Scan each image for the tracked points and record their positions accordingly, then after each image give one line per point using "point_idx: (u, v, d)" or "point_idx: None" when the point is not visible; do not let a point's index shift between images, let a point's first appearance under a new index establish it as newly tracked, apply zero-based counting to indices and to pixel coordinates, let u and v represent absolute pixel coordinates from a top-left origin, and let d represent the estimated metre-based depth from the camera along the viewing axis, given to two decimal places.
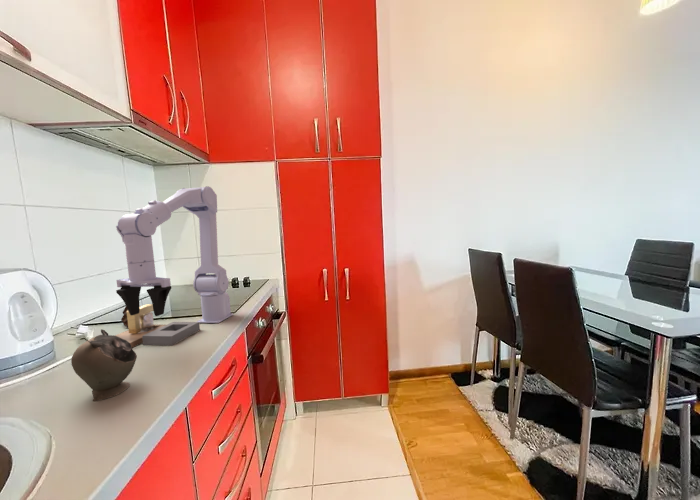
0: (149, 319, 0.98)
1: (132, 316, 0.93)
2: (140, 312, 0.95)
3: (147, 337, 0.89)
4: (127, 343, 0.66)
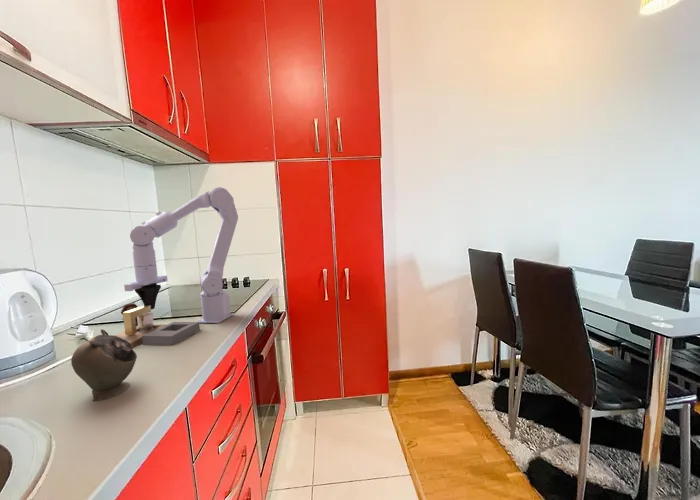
0: (149, 319, 0.98)
1: (128, 317, 0.92)
2: (137, 313, 0.94)
3: (147, 337, 0.89)
4: (127, 343, 0.66)
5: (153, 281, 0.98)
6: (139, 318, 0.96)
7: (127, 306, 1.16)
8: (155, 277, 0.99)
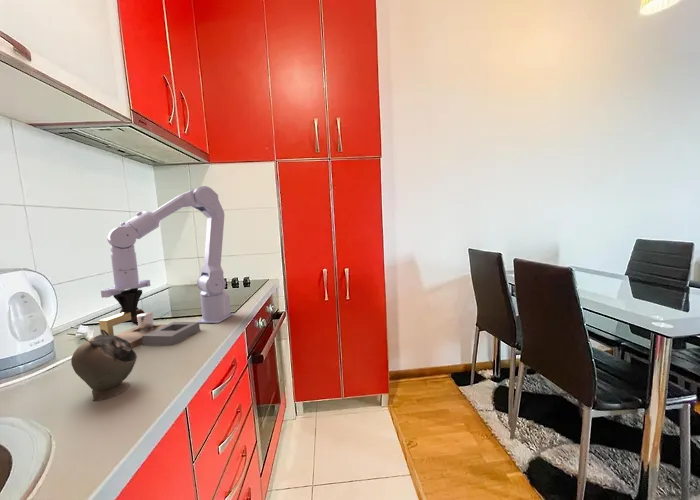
0: (149, 319, 0.98)
1: (105, 326, 0.85)
2: (114, 321, 0.87)
3: (147, 337, 0.89)
4: (127, 343, 0.66)
5: (133, 286, 0.91)
6: (139, 318, 0.96)
7: None
8: (136, 282, 0.92)
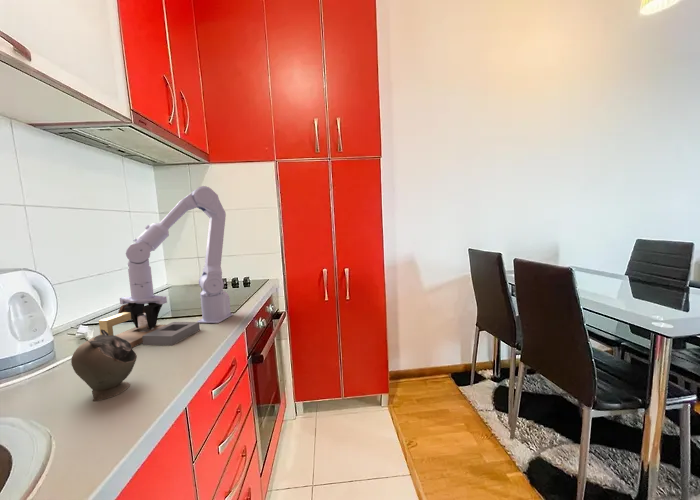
0: None
1: (105, 326, 0.85)
2: (114, 321, 0.87)
3: (147, 337, 0.89)
4: (127, 343, 0.66)
5: None
6: (139, 318, 0.96)
7: (125, 306, 1.16)
8: None
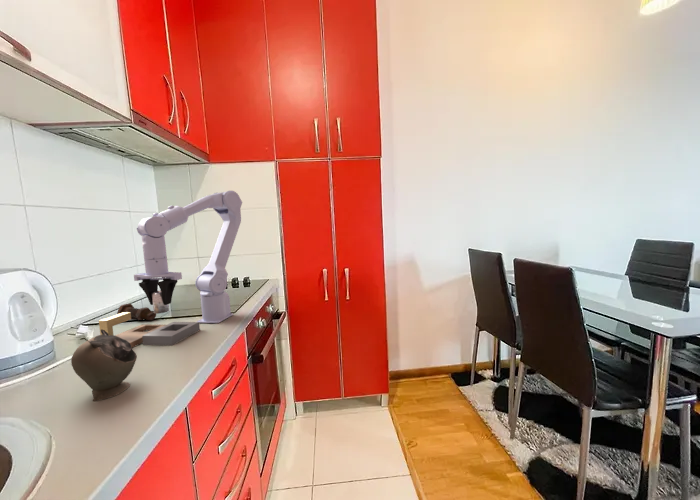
0: None
1: (105, 326, 0.85)
2: (114, 321, 0.87)
3: (147, 337, 0.89)
4: (127, 343, 0.66)
5: None
6: (154, 295, 0.94)
7: (124, 306, 1.16)
8: None
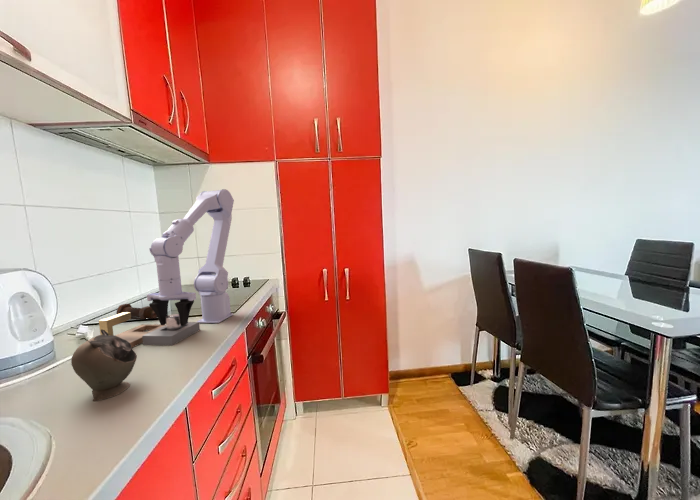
0: (179, 321, 0.94)
1: (105, 326, 0.85)
2: (114, 321, 0.87)
3: (147, 337, 0.89)
4: (127, 343, 0.66)
5: None
6: (168, 320, 0.93)
7: (123, 306, 1.16)
8: None
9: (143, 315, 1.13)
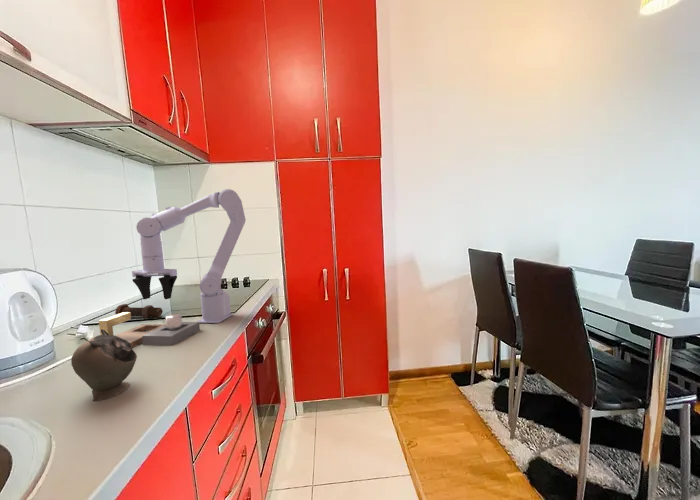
0: (179, 321, 0.94)
1: (105, 326, 0.85)
2: (114, 321, 0.87)
3: (147, 337, 0.89)
4: (127, 343, 0.66)
5: None
6: (168, 320, 0.93)
7: (122, 307, 1.16)
8: None
9: (147, 314, 1.15)
